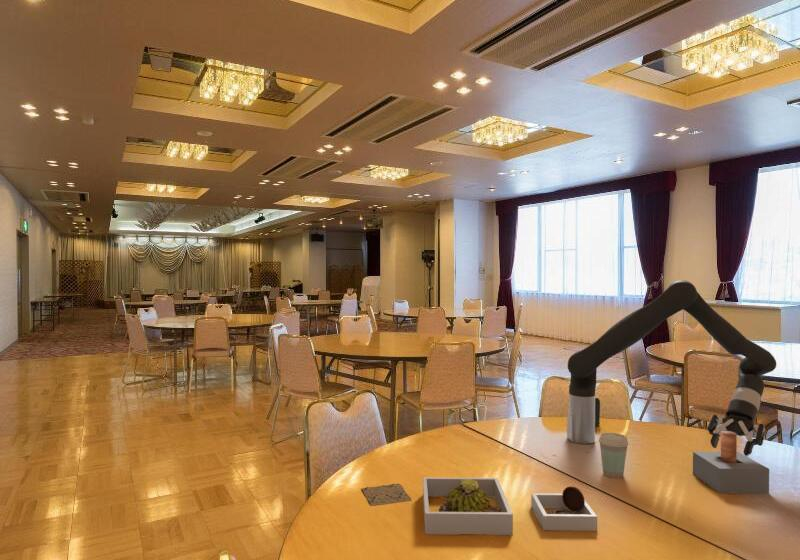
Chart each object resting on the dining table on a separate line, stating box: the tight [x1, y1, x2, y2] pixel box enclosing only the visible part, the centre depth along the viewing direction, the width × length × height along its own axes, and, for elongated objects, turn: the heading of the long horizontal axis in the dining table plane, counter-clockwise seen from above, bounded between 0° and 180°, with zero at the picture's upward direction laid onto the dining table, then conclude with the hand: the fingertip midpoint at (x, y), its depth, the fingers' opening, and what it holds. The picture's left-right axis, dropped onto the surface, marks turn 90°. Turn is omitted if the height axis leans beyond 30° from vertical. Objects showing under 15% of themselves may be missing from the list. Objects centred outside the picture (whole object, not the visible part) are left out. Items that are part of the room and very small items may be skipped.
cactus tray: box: [422, 476, 514, 536], centre depth 137 cm, size 21×22×5 cm
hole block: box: [692, 451, 770, 494], centre depth 156 cm, size 14×14×7 cm
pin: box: [720, 431, 738, 463], centre depth 156 cm, size 4×4×14 cm
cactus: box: [438, 477, 501, 512], centre depth 135 cm, size 17×16×10 cm
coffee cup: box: [598, 432, 629, 479], centre depth 163 cm, size 8×9×12 cm
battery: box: [595, 396, 601, 426], centre depth 216 cm, size 7×4×11 cm, turn 106°
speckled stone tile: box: [360, 483, 413, 507], centre depth 148 cm, size 12×12×1 cm
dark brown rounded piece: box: [551, 485, 586, 514], centre depth 134 cm, size 8×8×7 cm
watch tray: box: [530, 492, 598, 532], centre depth 134 cm, size 13×13×4 cm
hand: (729, 450), depth 156 cm, fingers open, 8 cm apart
